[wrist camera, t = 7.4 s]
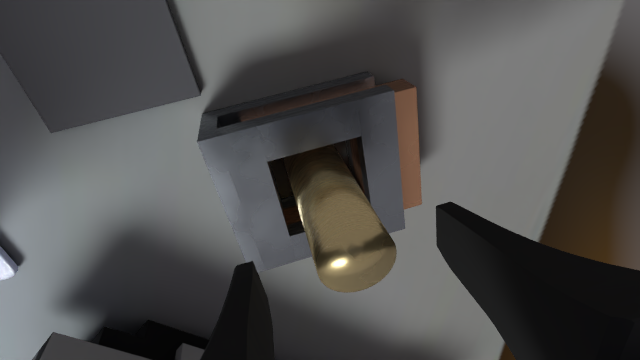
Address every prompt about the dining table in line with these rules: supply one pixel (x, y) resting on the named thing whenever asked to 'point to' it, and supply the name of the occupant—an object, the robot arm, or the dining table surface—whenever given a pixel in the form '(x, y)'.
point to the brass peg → (339, 221)
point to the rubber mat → (94, 57)
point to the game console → (126, 345)
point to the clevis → (306, 134)
